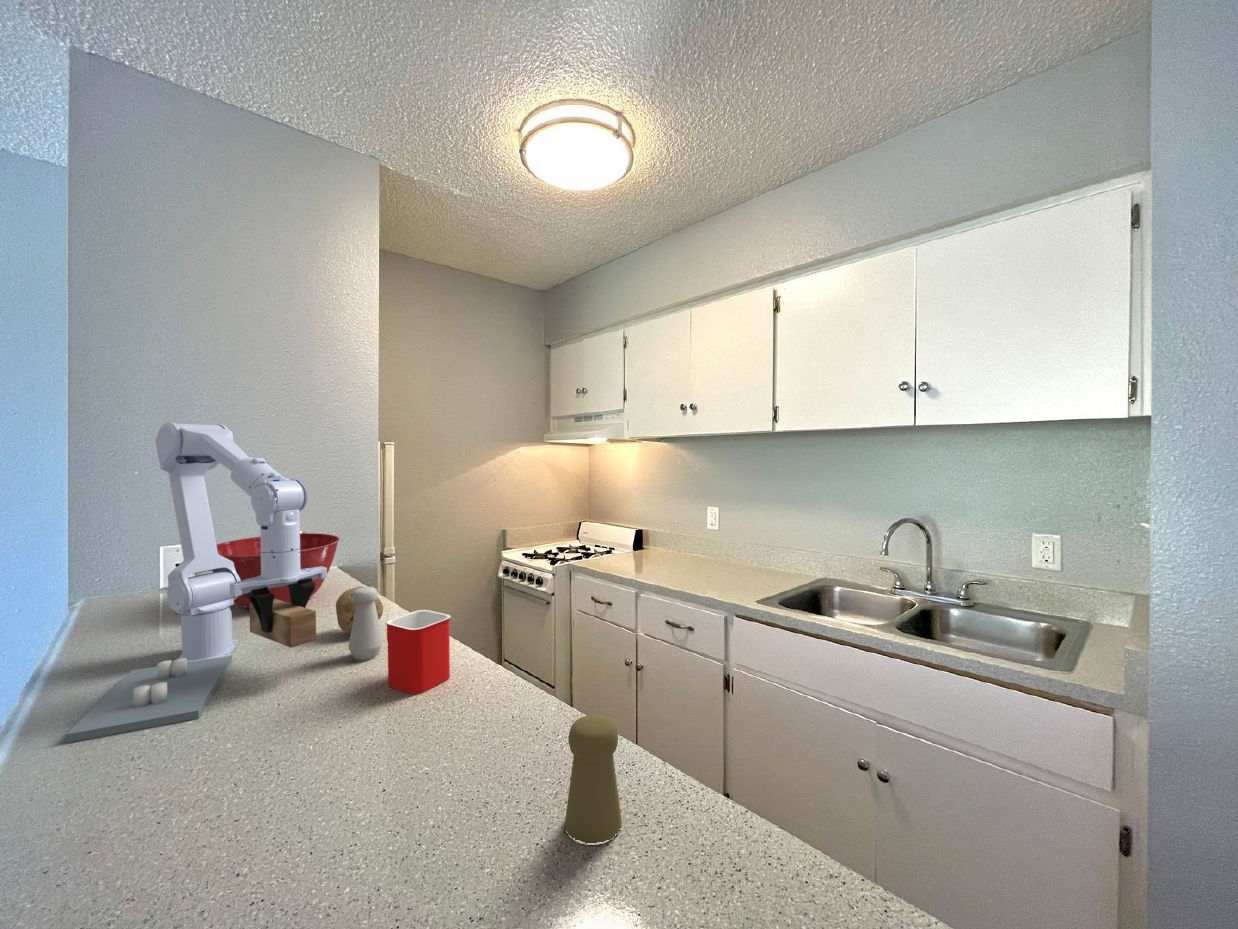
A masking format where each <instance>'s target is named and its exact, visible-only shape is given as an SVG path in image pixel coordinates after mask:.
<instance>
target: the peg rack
mask: <svg viewBox="0 0 1238 929" xmlns="http://www.w3.org/2000/svg"><path fill="white" fill-rule="evenodd" d="M232 663H233V655H230V656H227V657H220V658H213V659H206V660H199V661H193V662H187V658H181V659H178V658H176V659H174V660H173V661H172V660H170V659H169V660H163V661H160V662H158V663H157V666H154V667H152V666H151V667H145V668H139V669H132V670H130V671H129V672H128V673H127V674H126V675H125V676H124V678H122V680H120V681H119V682H118V683H117V684H116V685H115V686H114V687H113V688H112V689H111V690H110V691H109V692H108V693H107V694H105V696H103V698H102V699H101V700H99V702H98V703H96V704H95V706H94V707H93V708H92V709H90V710H89V711H88V712H87V713H86V715H85V716H84V717H82V718H81V719H80V720H79V721H78V722H77V723H76V724H75V725H73V727H72V728H71V729H70V730H69V731H68V732H67V733H66V734H65V736H66V738H65V739H66V744H70V743H74V742H75V743H76V742H80V741H84V740H85V741H86V740H92V739H97V738H101V737H107V736H111V735H116V734H117V735H118V734H123V733H129V732H133V731H138V730H143V729H144V730H145V729H151V728H155V727H162V726H165V725H171V724H176V723H182V722H186V721H187V722H188V721H192V720H197V719H200V717H201V715H202V714H203V713H204V711H205V709H206V707H207V705H208V704H209V702H210V700H211V699H212V697H213V695H214V694H215V692H216V690H217V689H218V687H219V685H220V683H221V682H222V681H223V679H224V677H225V675H226V673H227V672H228V670H229V668H230V667H231V665H232Z"/></svg>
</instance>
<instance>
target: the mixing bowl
mask: <svg viewBox="0 0 1238 929" xmlns="http://www.w3.org/2000/svg"><path fill="white" fill-rule="evenodd" d="M340 540H341V538H340V537H339V536H338V535H337V536H336V535H333V534H328V533H327V534H326V533H312V532H311V533H307V532H305V533H304V532H303V533H301V532H300V569H306V568H314V567H320V566H322V567H326V568H327V574H328V573H329V571H330V568H331V567H332V563H333V561H334V557H335V556H336V555H335V554H336V551H337V547H338V542H340ZM216 546H217V551H218V554H219V555H220V556H222V557H224V558H226V559H229V560H231V561H232V562H233V563H234V567H235V570H236V572H237V574H238V576H239V577H240V580H241V581H242V580H246V579H250V578H254V577H257V576H261V536H260V535H259V536H253V537H247V538H241V539H240V538H239V539H235V540H230V541H226V542H225V541H224V542H221V543H218V544H217V543H216ZM325 579H326V578H323V579H320V578H319V579H314V580H312V582H314V583H315V589H314V591H313V593H312V594H311V596H310V598H311V597H312V596H314V595H315V594H316V593H317V591H319V590H320V588H321V586H322V585H323V583H324V581H325ZM268 591H270V593H271V594H274V595H275V596H274V599H277V600H280V601H284V602H287V603H290V604H291V598H290V592H289V587H288V585H284V586H279V587H275V588H270V589H268ZM234 604H237V605H238V606H239V607H243V608H245V609H247V610H250V604H251V602H250V601H249V599H248V598H247V597H246V594H242V595H240V596H238V597H237V598H236V599H235V600H234Z"/></svg>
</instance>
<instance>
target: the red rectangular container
mask: <svg viewBox="0 0 1238 929" xmlns="http://www.w3.org/2000/svg"><path fill="white" fill-rule="evenodd" d="M450 621H451V615H450V614H447V613H443V612H438V611H433V610H429V609H419V610H414V611H412V612H409V613H406V614H403V615H399V616H397V617H396V616H395V617H394V618H391V619H388V620H387V621H386V622H385V624H386V642H387V676H388V677H387V681H388V682H387V683H388V686H389V687H391V688H393V689H395V690H398V691H401V692H405V693H407V694H410V695H417V694H418V695H420V694H422V693H425V692H427V691H429V690H431V689H433V688H434V687H437V686H439V685H440V684H442V683H444V682H446V681H448V680H449V679H450V674H451V673H450V671H451V670H450V666H451V665H450V664H451V662H450Z"/></svg>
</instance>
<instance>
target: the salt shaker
mask: <svg viewBox="0 0 1238 929" xmlns="http://www.w3.org/2000/svg"><path fill="white" fill-rule="evenodd" d="M378 592H379V591H378V589H377V588H375V587H373V586H362V588H359V589H356V590H355V591H354V592H353V595H352V599H353V602H355V603H357V605H356V610H355V615H354V620H353V625H352V630H351V634H350V635H349V640H348V645H347V647H348V650H349V651H350V654H351V655H352V658H353V659H354V661H360V662H362V661H363V662H364V661H369V660H372V659H375V658H376V657H377V656H378V655H379V654H380V650H381V648H382V645H383V637H382V632H381V631H382V630H381V627H380V621H379V620H378V616H377V611H376V606H375V600H376V599H377V598H379V593H378Z"/></svg>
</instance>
